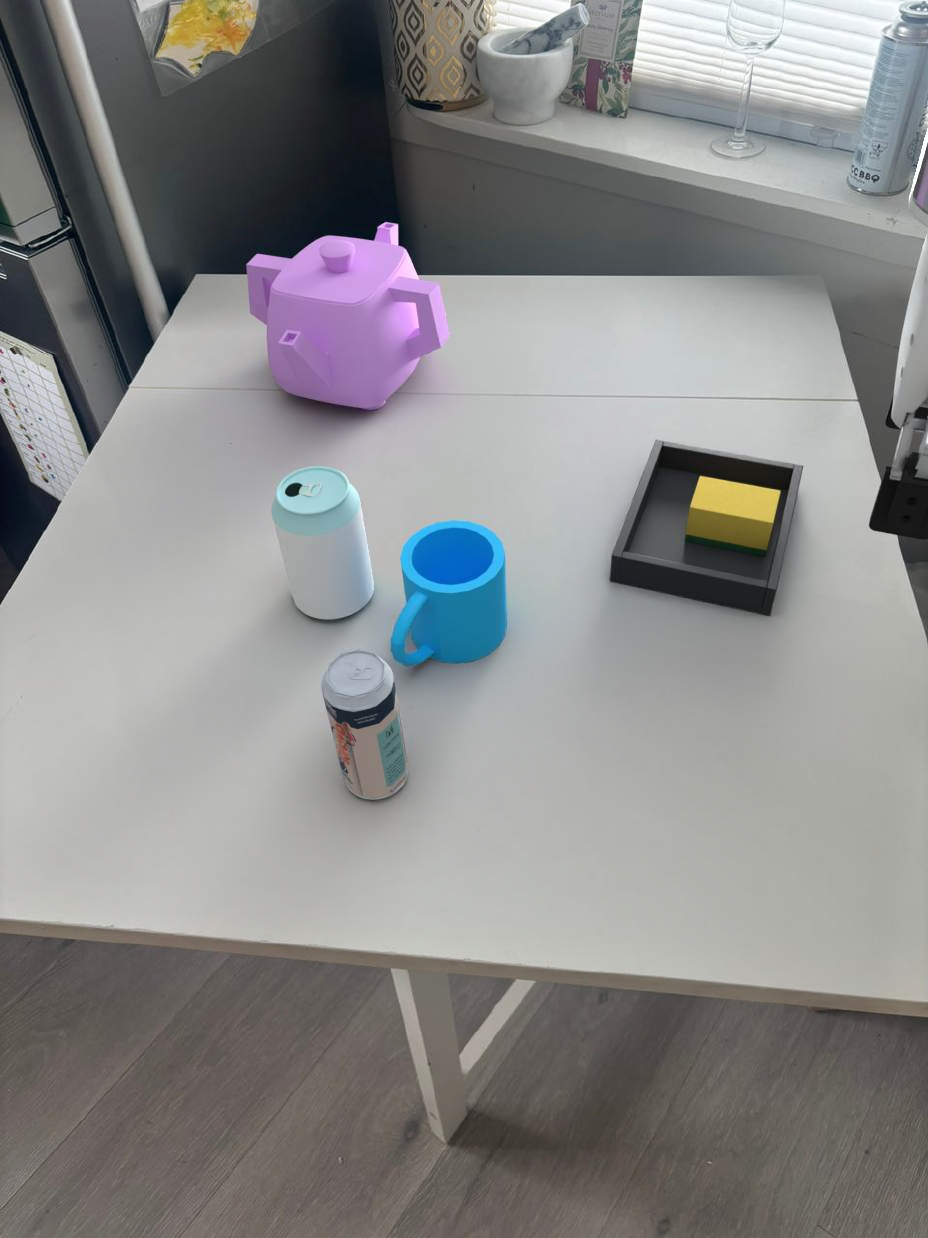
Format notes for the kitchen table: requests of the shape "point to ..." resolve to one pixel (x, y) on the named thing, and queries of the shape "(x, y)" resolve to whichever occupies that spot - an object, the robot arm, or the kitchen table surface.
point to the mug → (451, 594)
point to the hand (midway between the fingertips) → (905, 477)
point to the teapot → (346, 317)
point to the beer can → (365, 724)
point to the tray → (689, 569)
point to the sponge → (732, 516)
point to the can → (323, 542)
